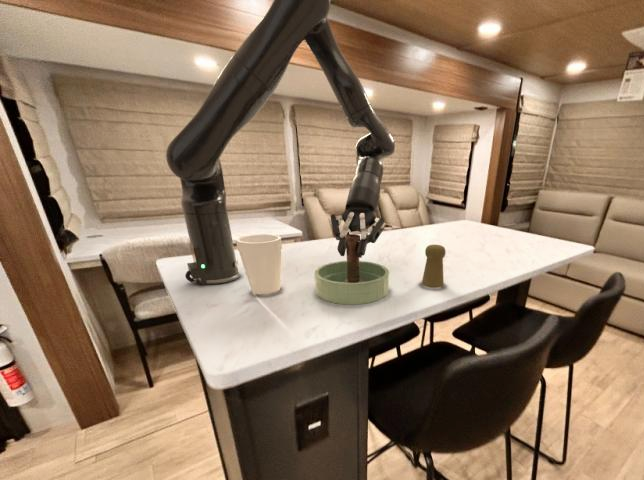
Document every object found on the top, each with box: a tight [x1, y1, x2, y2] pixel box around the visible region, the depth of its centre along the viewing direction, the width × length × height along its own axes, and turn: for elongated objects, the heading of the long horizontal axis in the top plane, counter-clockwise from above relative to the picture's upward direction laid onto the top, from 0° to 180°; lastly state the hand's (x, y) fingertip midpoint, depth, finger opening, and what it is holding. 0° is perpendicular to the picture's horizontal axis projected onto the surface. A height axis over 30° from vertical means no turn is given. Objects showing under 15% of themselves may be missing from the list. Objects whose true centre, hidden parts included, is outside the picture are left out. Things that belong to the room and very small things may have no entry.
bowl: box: [314, 260, 390, 306], centre depth 76 cm, size 18×18×6 cm
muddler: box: [345, 233, 363, 283], centre depth 74 cm, size 4×4×13 cm
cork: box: [421, 244, 446, 289], centre depth 81 cm, size 6×6×11 cm
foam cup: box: [235, 233, 283, 297], centre depth 72 cm, size 10×9×13 cm
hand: (350, 254), depth 71 cm, fingers closed on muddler, 3 cm apart
